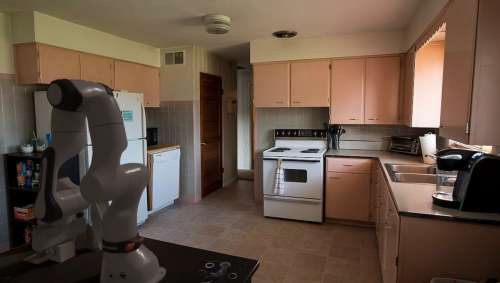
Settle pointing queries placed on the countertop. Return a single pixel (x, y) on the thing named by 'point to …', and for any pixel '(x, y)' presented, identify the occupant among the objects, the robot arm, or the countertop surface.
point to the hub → (38, 257)
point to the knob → (64, 251)
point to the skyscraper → (96, 225)
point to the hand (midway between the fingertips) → (62, 251)
